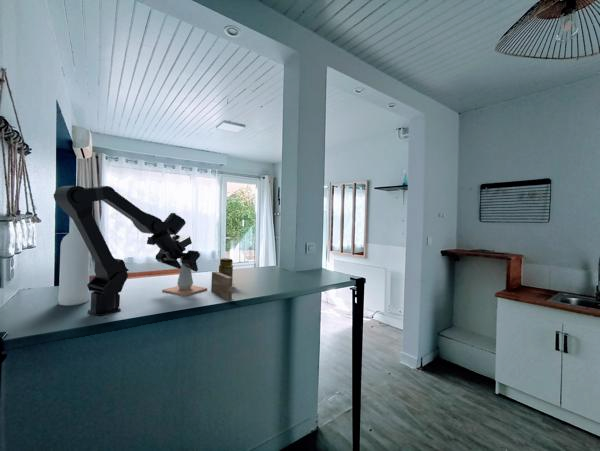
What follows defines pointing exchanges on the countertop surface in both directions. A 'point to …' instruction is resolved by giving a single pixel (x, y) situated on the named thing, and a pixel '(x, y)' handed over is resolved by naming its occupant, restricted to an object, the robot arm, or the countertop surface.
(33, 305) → the countertop surface
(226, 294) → the walnut backboard
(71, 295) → the bottle
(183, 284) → the salt shaker
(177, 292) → the terracotta mat
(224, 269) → the condiment
